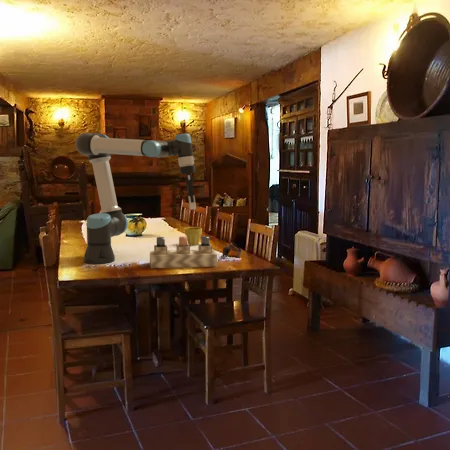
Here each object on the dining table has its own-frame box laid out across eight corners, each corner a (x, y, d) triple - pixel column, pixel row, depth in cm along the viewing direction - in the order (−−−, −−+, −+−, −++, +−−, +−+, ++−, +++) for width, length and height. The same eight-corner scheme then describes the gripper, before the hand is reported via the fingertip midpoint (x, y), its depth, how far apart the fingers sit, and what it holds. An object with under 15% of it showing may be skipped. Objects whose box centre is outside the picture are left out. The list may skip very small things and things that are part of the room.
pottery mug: (226, 254, 274) (234, 242, 273) (238, 264, 270) (246, 251, 268) (214, 252, 264) (223, 239, 263) (227, 262, 259) (235, 249, 258)
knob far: (201, 246, 245) (201, 237, 244) (200, 244, 249) (200, 236, 248) (209, 246, 246) (209, 237, 245) (208, 244, 249) (208, 236, 249)
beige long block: (151, 268, 237) (150, 248, 236) (149, 262, 249) (149, 243, 248) (216, 266, 244) (217, 247, 242) (212, 260, 255) (213, 242, 254)
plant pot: (182, 245, 296) (182, 229, 295) (187, 242, 306) (187, 226, 305) (199, 246, 294) (199, 229, 292) (204, 243, 304) (204, 227, 302)
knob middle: (179, 246, 243) (179, 237, 242) (178, 245, 246) (178, 236, 246) (187, 246, 243) (187, 237, 243) (186, 245, 247) (186, 236, 247)
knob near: (156, 247, 240) (156, 238, 240) (156, 245, 244) (156, 236, 244) (165, 247, 241) (165, 238, 241) (164, 245, 245) (164, 236, 244)
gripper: (195, 163, 232) (201, 208, 234) (193, 165, 257) (199, 206, 259) (179, 165, 231) (185, 211, 233) (179, 167, 256) (185, 208, 258)
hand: (193, 208), depth 246 cm, fingers open, 13 cm apart
